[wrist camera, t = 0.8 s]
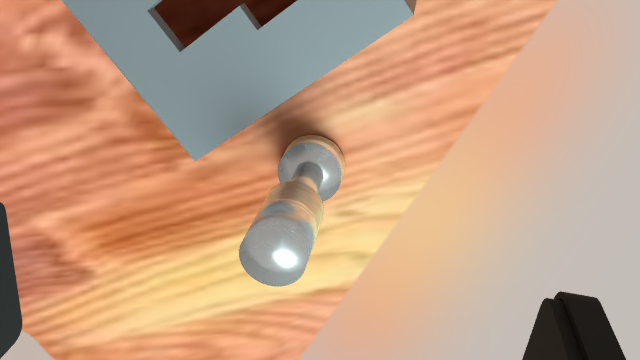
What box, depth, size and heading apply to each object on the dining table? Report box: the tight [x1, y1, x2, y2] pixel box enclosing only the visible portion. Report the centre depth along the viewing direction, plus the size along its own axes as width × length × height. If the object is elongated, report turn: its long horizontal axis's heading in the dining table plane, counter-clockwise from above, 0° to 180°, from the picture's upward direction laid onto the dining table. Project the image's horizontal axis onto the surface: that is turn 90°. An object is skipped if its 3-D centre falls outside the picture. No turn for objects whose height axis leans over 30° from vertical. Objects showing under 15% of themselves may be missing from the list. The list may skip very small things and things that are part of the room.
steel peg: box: [239, 135, 345, 286], centre depth 40 cm, size 5×5×13 cm
